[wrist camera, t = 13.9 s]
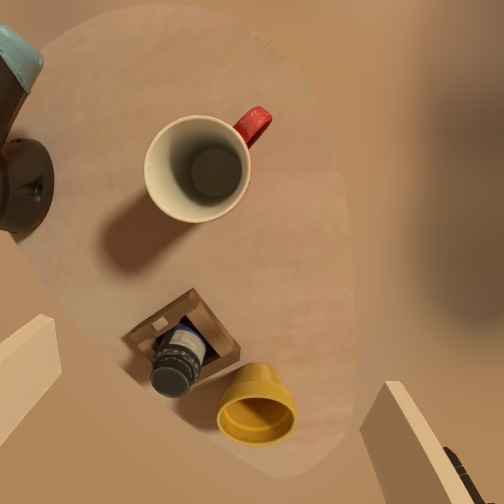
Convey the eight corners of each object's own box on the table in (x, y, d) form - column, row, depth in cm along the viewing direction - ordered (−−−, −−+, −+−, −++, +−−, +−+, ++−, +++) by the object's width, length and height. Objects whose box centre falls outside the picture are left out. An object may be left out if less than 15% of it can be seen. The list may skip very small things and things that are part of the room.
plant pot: (244, 411, 44) (242, 454, 35) (209, 369, 42) (199, 411, 33) (301, 388, 43) (310, 430, 33) (270, 341, 41) (274, 382, 31)
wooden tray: (137, 325, 41) (128, 337, 37) (193, 287, 39) (187, 298, 36) (183, 377, 43) (178, 392, 39) (240, 347, 41) (239, 361, 38)
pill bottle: (182, 360, 42) (164, 408, 31) (159, 329, 41) (133, 371, 30) (216, 346, 41) (205, 394, 31) (194, 312, 40) (175, 354, 29)
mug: (213, 224, 37) (190, 246, 24) (167, 171, 36) (123, 166, 23) (290, 159, 35) (309, 145, 22) (242, 106, 34) (236, 66, 21)
